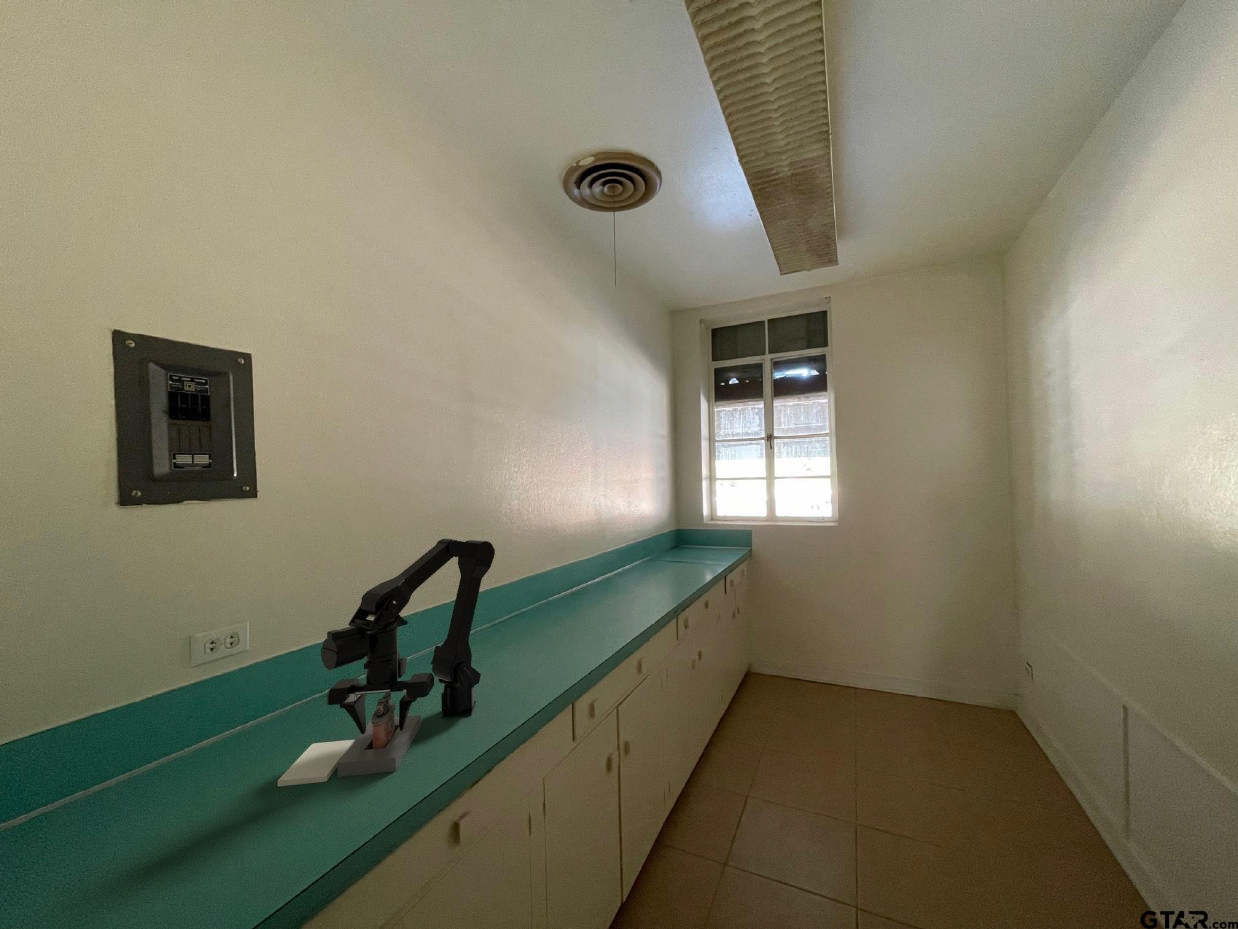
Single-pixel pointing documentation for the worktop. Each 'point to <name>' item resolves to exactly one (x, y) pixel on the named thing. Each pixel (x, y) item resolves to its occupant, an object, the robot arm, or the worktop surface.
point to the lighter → (383, 722)
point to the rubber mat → (316, 763)
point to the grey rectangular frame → (379, 750)
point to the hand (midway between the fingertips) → (382, 731)
